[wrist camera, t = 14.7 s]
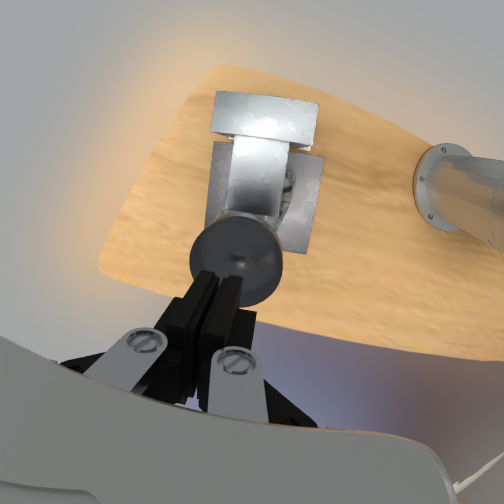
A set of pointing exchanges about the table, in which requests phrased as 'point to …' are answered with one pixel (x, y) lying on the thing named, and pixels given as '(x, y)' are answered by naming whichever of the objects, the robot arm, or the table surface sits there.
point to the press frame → (265, 161)
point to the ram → (241, 253)
